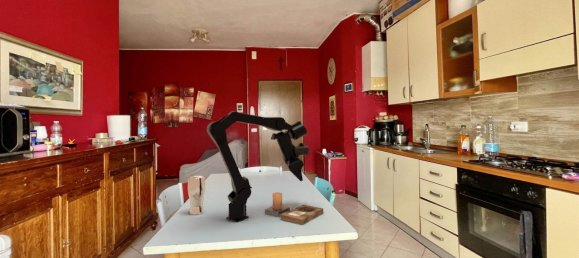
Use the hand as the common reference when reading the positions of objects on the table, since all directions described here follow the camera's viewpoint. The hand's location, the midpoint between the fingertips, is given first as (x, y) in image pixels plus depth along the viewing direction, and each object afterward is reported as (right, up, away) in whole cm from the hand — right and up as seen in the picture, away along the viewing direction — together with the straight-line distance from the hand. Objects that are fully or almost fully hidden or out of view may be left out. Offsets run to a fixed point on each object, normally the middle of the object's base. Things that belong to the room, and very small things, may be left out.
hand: (299, 177), depth 120 cm
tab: (-9, -14, -5) cm, 17 cm away
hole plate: (+1, -14, -10) cm, 17 cm away
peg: (-9, -12, -5) cm, 16 cm away
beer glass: (-43, -14, -3) cm, 46 cm away
